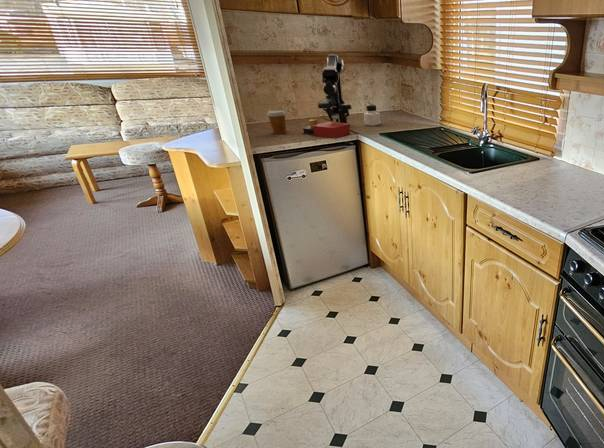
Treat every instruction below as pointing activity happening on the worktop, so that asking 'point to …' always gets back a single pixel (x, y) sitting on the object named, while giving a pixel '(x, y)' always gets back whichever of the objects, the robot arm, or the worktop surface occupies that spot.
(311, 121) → the valve knob
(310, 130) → the valve panel
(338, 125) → the cabinet lid
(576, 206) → the worktop surface
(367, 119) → the medicine bottle
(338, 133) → the red cabinet box
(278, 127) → the disposable coffee cup
